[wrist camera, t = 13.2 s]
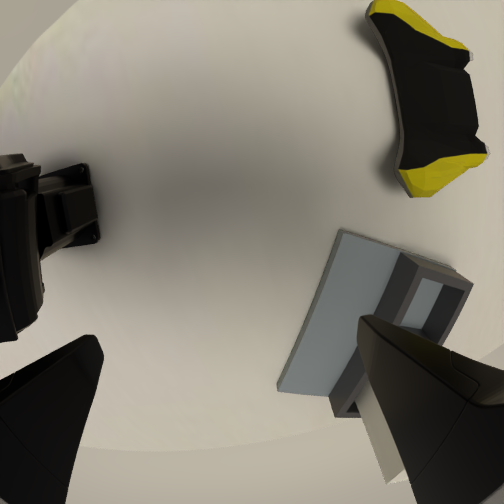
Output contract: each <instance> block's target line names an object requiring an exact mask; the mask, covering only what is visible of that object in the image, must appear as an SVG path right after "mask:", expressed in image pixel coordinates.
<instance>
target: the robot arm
mask: <svg viewBox="0 0 504 504" xmlns="http://www.w3.org/2000/svg"><path fill="white" fill-rule="evenodd" d="M82 167H83V168H84V171H83V172H82V171H81V168H82ZM40 172H41V165H34V163H29V162H27V161H26V159H25V157H24V155H23V154H9V155H1V156H0V343H2V342H9V341H16V340H17V339H18V336H17V334H18V333H20V332H21V331H23V330H24V329H25V328H27V327H29V326H30V325H31V324H32V323H33V322H35V321H36V319H37V318H38V315H37V312H38V311H39V309H40V308H41V306H42V304H43V293H44V292H45V288H44V283H43V282H42V274H41V265H40V261H41V260H43V259H44V258H46V257H48V256H49V255H51V254H52V253H54V252H56V251H57V250H59V249H61V248H68V247H75V246H82V245H89V244H95V243H97V242H98V241H99V240H100V232H99V228H98V223H97V211H96V206H95V200H94V194H93V188H92V187H91V182H90V175H89V168H88V165H87V164H86V163H80V164H77V165H74V166H70V167H67V168H64V169H61V170H58V171H55V172H51V173H49V174H46V175H43V176H40V177H39V174H40ZM93 235H95V237H96V239H94V238H93ZM356 338H357V345H358V348H359V351H360V354H361V357H362V360H363V364H364V367H365V370H366V374H367V377H368V380H369V382H370V385H371V387H372V389H373V392H374V394H375V396H376V398H377V401H378V403H379V405H380V408H381V410H382V413H383V415H384V417H385V420H386V422H387V425H388V427H389V429H390V432H391V434H392V437H393V439H394V442H395V444H396V447H397V449H398V452H399V455H400V457H401V460H402V462H403V465H404V468H405V470H406V473H407V476H408V479H409V481H410V484H411V487H412V490H413V493H414V496H415V499H416V501H417V504H504V370H500V369H498V368H495V367H492V366H489V365H486V364H483V363H480V362H478V361H475V360H472V359H470V358H468V357H465V356H463V355H460V354H458V353H456V352H454V351H450V350H449V349H447V348H445V347H443V346H440V345H438V344H436V343H434V342H432V341H429V340H427V339H425V338H423V337H421V336H418V335H416V334H414V333H412V332H409V331H407V330H405V329H403V328H401V327H398V326H396V325H394V324H392V323H390V322H388V321H385V320H383V319H381V318H379V317H377V316H374V315H372V314H368V315H362V316H360V317H359V320H358V328H357V337H356ZM103 361H104V354H103V351H102V349H101V346H100V344H99V342H98V339H97V337H96V336H95V335H87V334H86V335H83V336H81V337H79V338H78V339H76V340H74V341H72V342H70V343H68V344H66V345H64V346H63V347H61V348H59V349H57V350H55V351H53V352H51V353H50V354H48V355H46V356H44V357H42V358H40V359H38V360H37V361H35V362H33V363H31V364H29V365H27V366H25V367H24V368H22V369H20V370H18V371H16V372H15V373H12V374H11V375H9V376H7V377H5V378H3V379H1V380H0V504H65V502H66V497H67V492H68V487H69V482H70V478H71V474H72V470H73V466H74V462H75V458H76V454H77V451H78V447H79V444H80V440H81V437H82V434H83V430H84V427H85V424H86V421H87V417H88V414H89V411H90V408H91V405H92V402H93V399H94V396H95V393H96V389H97V385H98V381H99V377H100V373H101V369H102V365H103Z"/></svg>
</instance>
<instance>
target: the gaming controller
mask: <svg viewBox="0 0 504 504" xmlns="http://www.w3.org/2000/svg"><path fill="white" fill-rule="evenodd" d="M365 18H366V20H367V22H368V24H369V26H370V27H371V29H372V31H373V33H374V34H375V36H376V38H377V40H378V42H379V44H380V46H381V48H382V50H383V52H384V54H385V56H386V59H387V62H388V66H389V69H390V73H391V78H392V83H393V88H394V93H395V98H396V104H397V110H398V117H399V124H400V144H399V149H398V153H397V158H396V162H395V166H394V173H395V176H396V178H397V180H398V181H399V183H400V184H401V185H402V187H403V188H404V190H405V191H406V193H407V194H408V196H409V197H410V198H413V197H431V196H433V195H434V194H435V193H436V192H438V191H439V190H440V189H442V188H443V187H444V186H446V185H447V184H448V183H450V182H451V181H453V180H454V179H455V178H457V177H458V176H460V175H461V174H463V173H464V172H465V171H467V170H468V169H469V168H473V167H477V166H479V165H480V164H481V163H483V162H484V160H486V159H487V158H488V157H489V155H490V151H489V147H488V146H486V145H485V143H483V142H482V141H481V140H480V139H478V138H477V137H476V136H475V135H476V132H477V130H478V127H479V124H478V117H477V110H476V104H475V98H474V93H473V88H472V83H471V79H470V75H469V74H468V73H467V72H466V71H465V70H464V68H465V66H466V65H467V64H468V62H470V61H472V60H473V53H472V52H471V51H470V50H469V49H468V48H466V47H465V46H464V45H463V44H462V43H460V42H458V41H456V40H454V39H451V38H447V37H444V36H442V35H441V34H440V33H438V32H437V31H436V30H435V29H434V28H433V27H432V26H431V25H430V24H429V23H427V22H426V21H425V20H424V19H423V18H422V17H421V16H419V15H418V14H417V13H416V12H415V11H413V10H412V9H411V8H410V7H408V6H407V5H406V4H405V3H403V2H400V1H397V0H373V1H372V2H371V3H370V4H369V6H368V8H367V10H366V13H365Z"/></svg>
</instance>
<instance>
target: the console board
mask: <svg viewBox="0 0 504 504" xmlns="http://www.w3.org/2000/svg"><path fill="white" fill-rule="evenodd" d="M456 271H457V270H455V269H454V268H452V267H450V266H448V265H445V264H442V263H439V262H437V261H434V260H431V259H428V258H425V257H423V256H420V255H417V254H414V253H411V252H408V251H405V250H402V249H399V248H396V247H393V246H390V245H387V244H384V243H381V242H378V241H375V240H372V239H369V238H366V237H363V236H359V235H356V234H353V233H350V232H347V231H343V230H339V232H338V235H337V238H336V241H335V244H334V247H333V250H332V252H331V255H330V258H329V261H328V263H327V266H326V269H325V271H324V274H323V277H322V279H321V282H320V285H319V287H318V290H317V292H316V295H315V297H314V300H313V302H312V305H311V307H310V310H309V312H308V315H307V317H306V320H305V322H304V324H303V327H302V329H301V331H300V334H299V336H298V338H297V341H296V343H295V345H294V348H293V350H292V352H291V354H290V357H289V359H288V361H287V363H286V365H285V368H284V370H283V372H282V374H281V376H280V378H279V381H278V383H277V391H278V392H286V393H294V394H303V395H314V396H326V397H329V400H330V403H331V406H332V410H333V413H334V416H335V417H337V418H361V415H360V413H359V410H358V408H357V405H356V402H355V399H356V397H357V396H358V395H359V393H360V392H361V390H362V389H363V387H364V386H365V384H366V382H367V381H368V377H367V374H366V370H365V367H364V364H363V360H362V357H361V354H360V351H359V348H358V345H357V338H356V337H357V328H358V320H359V317H360V316H362V315H368V314H372V315H374V316H377V317H379V318H381V319H383V320H385V321H388V322H390V323H392V324H394V325H396V326H398V327H401V328H403V329H405V330H407V331H409V332H412V333H414V334H416V335H418V336H421V337H423V338H425V339H427V340H429V341H432V342H434V343H436V344H438V345H440V346H442V345H443V343H444V342H445V340H446V338H447V337H448V335H449V333H450V331H451V329H452V328H453V326H454V324H455V322H456V320H457V318H458V316H459V314H460V312H461V310H462V308H463V306H464V304H465V302H466V300H467V298H468V296H469V294H470V291H471V289H472V287H473V285H474V284H473V283H472V282H470V281H469V280H467V279H466V278H465V277H463V276H462V275H460V274H459V273H457V272H456Z"/></svg>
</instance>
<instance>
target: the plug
mask: <svg viewBox="0 0 504 504" xmlns="http://www.w3.org/2000/svg"><path fill="white" fill-rule="evenodd" d="M355 402H356V405H357V408H358V410H359V413H360V415H361V418H362V420H363V423H364V425H365V428H366V431H367V433H368V436H369V439H370V441H371V444H372V446H373V449H374V452H375V455H376V457H377V460H378V463H379V465H380V468H381V471H382V474H383V477H384V480H385V482H386V484H391V483H395V482H399V481H404V480H408V476H407V473H406V470H405V468H404V465H403V462H402V460H401V457H400V455H399V452H398V449H397V447H396V444H395V442H394V439H393V437H392V434H391V432H390V429H389V427H388V425H387V422H386V420H385V417H384V415H383V413H382V410H381V408H380V405H379V403H378V401H377V398H376V396H375V394H374V392H373V389H372V387H371V385H370V382H369V380H368V381H367V382H366V384H365V386H364V387H363V389H362V390H361V392H360V393H359V395H358V396H357V397H356V399H355Z"/></svg>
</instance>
